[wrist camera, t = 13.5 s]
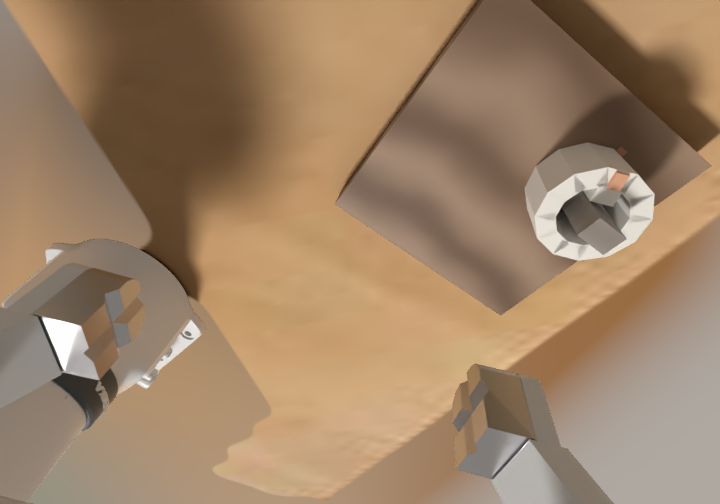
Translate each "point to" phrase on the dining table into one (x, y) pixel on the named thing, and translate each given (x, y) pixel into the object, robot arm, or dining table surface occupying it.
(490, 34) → the board
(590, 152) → the white hollow tube
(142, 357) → the robot arm
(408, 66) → the dining table surface
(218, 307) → the dining table surface
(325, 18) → the dining table surface
